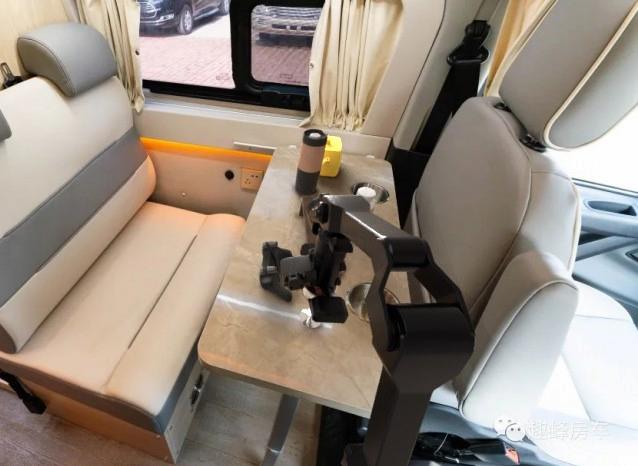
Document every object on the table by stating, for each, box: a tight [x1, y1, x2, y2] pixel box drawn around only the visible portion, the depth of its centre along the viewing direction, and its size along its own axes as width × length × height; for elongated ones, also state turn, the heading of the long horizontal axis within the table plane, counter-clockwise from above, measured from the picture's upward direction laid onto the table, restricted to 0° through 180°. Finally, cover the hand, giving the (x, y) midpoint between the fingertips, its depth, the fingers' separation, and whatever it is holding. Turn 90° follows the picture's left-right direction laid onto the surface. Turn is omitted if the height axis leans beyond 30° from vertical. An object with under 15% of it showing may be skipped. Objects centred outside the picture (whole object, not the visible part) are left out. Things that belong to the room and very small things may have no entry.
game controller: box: [258, 240, 294, 303], centre depth 82 cm, size 16×7×10 cm, turn 171°
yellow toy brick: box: [319, 135, 343, 178], centre depth 120 cm, size 20×12×12 cm, turn 167°
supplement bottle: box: [356, 186, 377, 214], centre depth 94 cm, size 7×7×13 cm
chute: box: [298, 196, 343, 276], centre depth 91 cm, size 25×8×7 cm, turn 177°
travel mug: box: [294, 128, 329, 195], centre depth 107 cm, size 8×8×20 cm
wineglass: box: [298, 282, 338, 329], centre depth 70 cm, size 7×7×12 cm
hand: (314, 304), depth 71 cm, fingers closed on wineglass, 6 cm apart
